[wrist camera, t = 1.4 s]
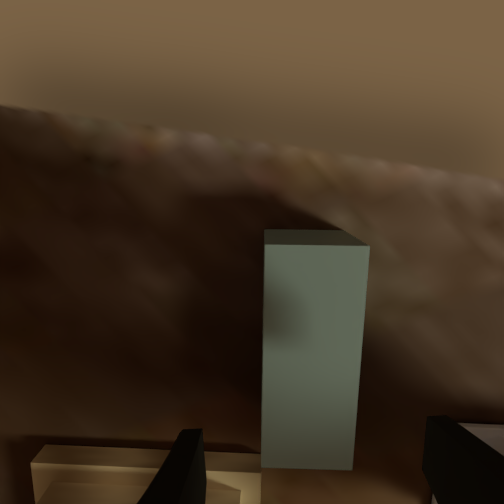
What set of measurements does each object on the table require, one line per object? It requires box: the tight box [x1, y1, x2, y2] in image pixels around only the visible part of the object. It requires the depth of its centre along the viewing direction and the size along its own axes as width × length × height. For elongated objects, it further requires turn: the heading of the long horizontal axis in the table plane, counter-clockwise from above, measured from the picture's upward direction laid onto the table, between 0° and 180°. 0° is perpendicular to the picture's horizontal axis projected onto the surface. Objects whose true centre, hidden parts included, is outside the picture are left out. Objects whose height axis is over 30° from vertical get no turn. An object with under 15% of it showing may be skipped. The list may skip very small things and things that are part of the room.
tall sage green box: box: [261, 229, 370, 470], centre depth 18 cm, size 4×11×5 cm, turn 0°
